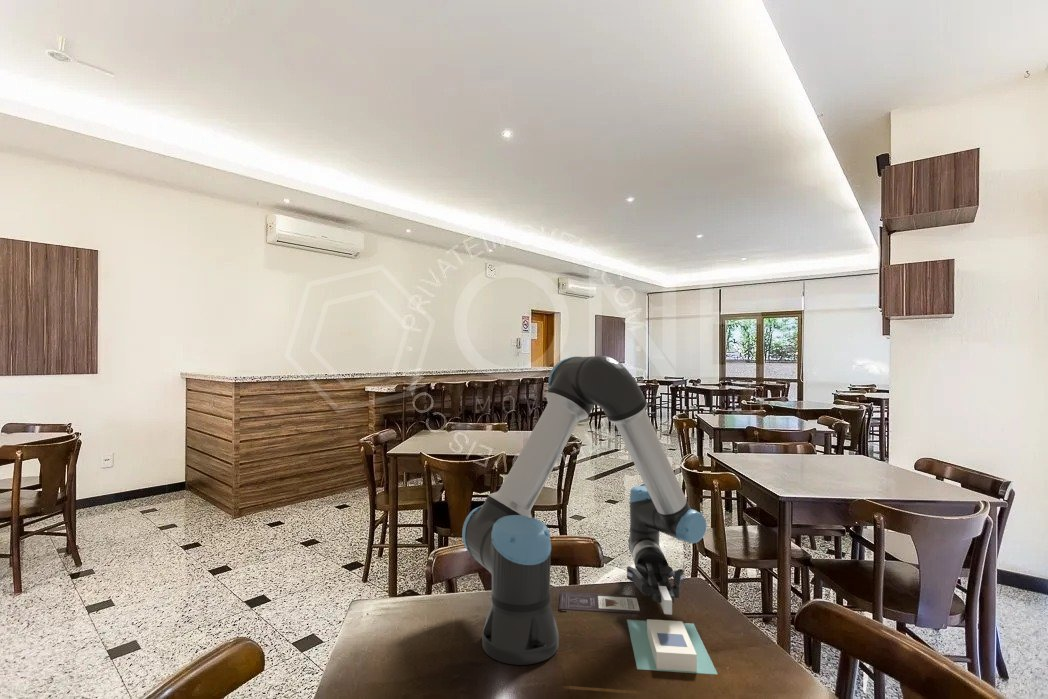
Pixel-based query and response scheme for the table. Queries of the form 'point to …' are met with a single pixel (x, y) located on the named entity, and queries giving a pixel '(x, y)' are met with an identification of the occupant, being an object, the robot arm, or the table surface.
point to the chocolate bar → (599, 602)
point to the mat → (645, 653)
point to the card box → (671, 645)
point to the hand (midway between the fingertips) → (668, 607)
